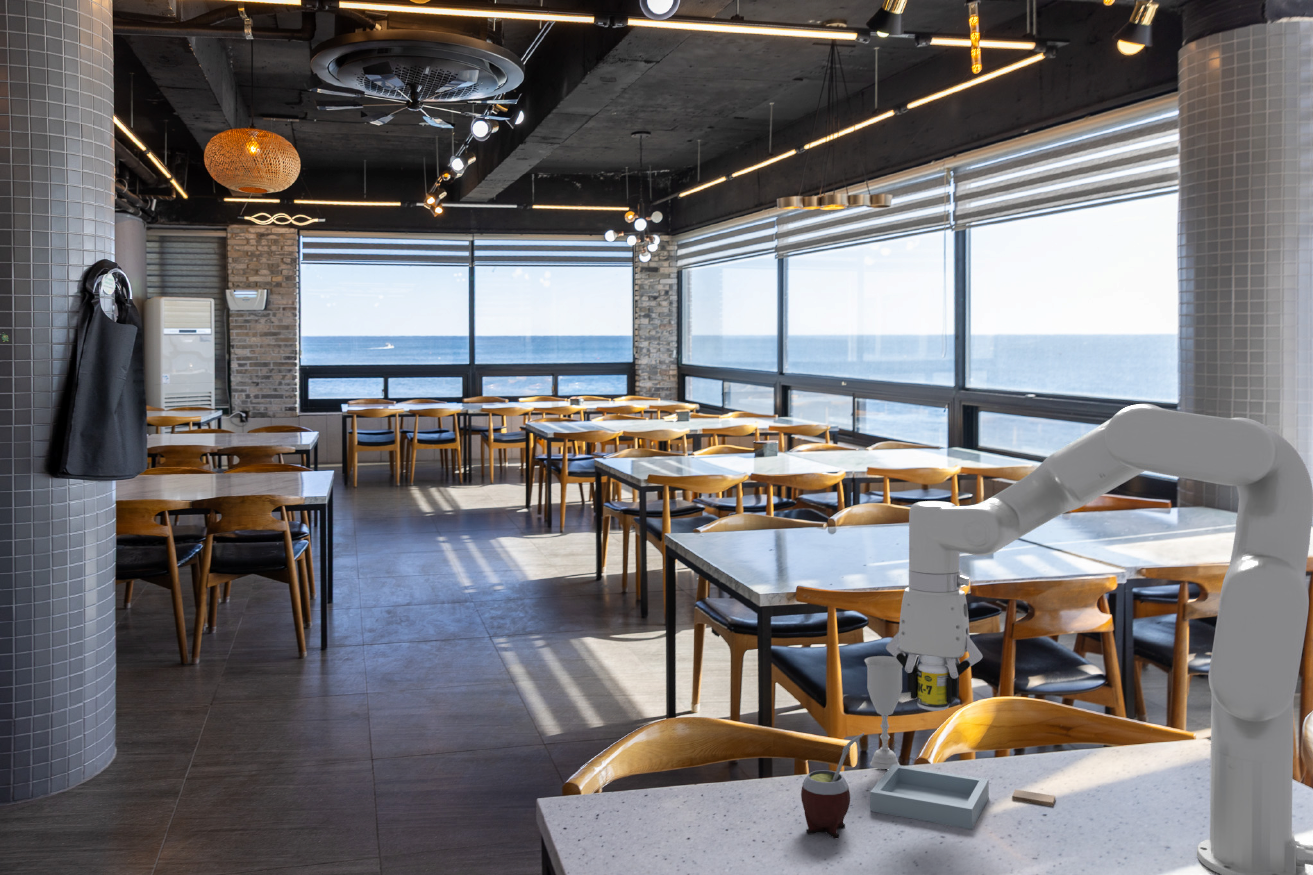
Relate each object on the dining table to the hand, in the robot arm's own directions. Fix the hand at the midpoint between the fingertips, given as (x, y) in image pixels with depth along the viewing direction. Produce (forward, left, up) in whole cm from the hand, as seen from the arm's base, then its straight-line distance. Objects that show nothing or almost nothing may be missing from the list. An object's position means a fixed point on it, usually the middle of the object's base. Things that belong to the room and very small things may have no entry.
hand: (933, 697), depth 159 cm
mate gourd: (+11, +16, -17) cm, 26 cm away
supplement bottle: (0, 0, -2) cm, 2 cm away
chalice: (+11, -14, -17) cm, 25 cm away
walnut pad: (-14, -9, -17) cm, 23 cm away
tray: (0, 0, -17) cm, 17 cm away
